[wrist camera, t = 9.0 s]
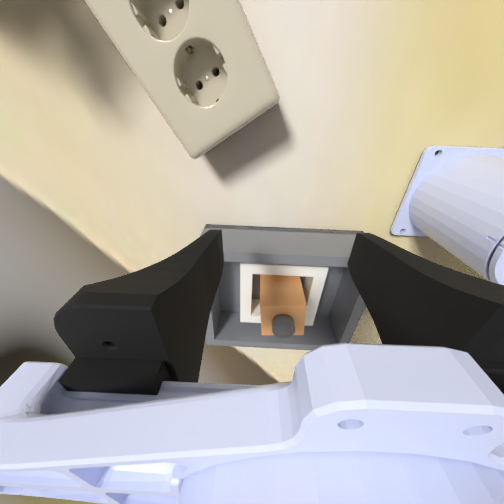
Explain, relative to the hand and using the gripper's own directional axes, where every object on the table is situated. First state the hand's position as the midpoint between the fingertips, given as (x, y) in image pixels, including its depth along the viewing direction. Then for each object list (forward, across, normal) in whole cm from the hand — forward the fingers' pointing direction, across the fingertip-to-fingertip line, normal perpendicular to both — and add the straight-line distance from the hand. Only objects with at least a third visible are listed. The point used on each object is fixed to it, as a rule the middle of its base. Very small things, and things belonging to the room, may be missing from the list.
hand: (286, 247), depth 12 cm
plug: (+9, -1, +10) cm, 13 cm away
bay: (+10, -1, +10) cm, 14 cm away
